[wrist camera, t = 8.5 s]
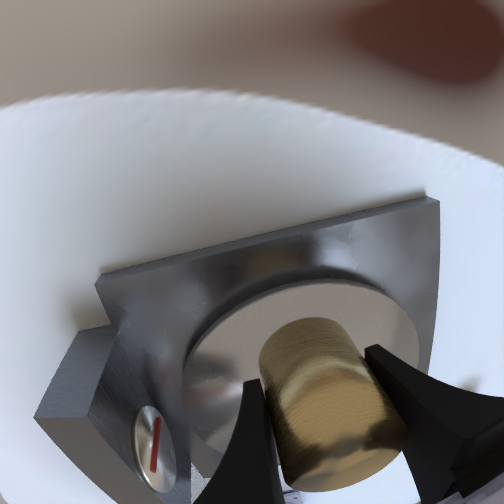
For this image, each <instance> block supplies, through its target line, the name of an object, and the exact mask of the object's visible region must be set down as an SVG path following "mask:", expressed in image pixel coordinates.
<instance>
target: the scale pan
mask: <svg viewBox="0 0 504 504" xmlns="http://www.w3.org/2000/svg"><path fill="white" fill-rule="evenodd" d="M309 317H322V318H327V319H331V320H333V321H335V322H337V323H339V324H340V325H341V326H342V327H343V328H344V329H345V330H346V332H347V333H348V335H349V336H350V338H351V339H352V341H353V342H354V344H355V345H356V347H357V348H358V350H359V352H360V353H361V355H362V356H363V358H364V359H365V356H364V348H366V347H369V346H372V345H375V344H379V345H380V346H382V347H383V348H385V349H386V350H388V351H389V352H391V353H392V354H394V355H395V356H397V357H398V358H400V359H401V360H403V361H404V362H406V363H407V364H409V365H411V366H412V367H414V368H416V369H417V365H418V360H419V341H418V336H417V332H416V329H415V326H414V325H413V323H412V321H411V319H410V317H409V316H408V315H407V314H406V312H405V311H404V310H403V309H402V308H401V307H400V306H399V305H398V304H397V303H396V302H395V301H394V300H393V299H392V298H390V297H389V296H388V295H387V294H385V293H384V292H382V291H380V290H378V289H376V288H374V287H372V286H369V285H366V284H363V283H361V282H356V281H351V280H345V279H329V278H324V279H311V280H304V281H299V282H294V283H288V284H285V285H282V286H279V287H276V288H272V289H269V290H267V291H265V292H262V293H260V294H258V295H255V296H253V297H251V298H249V299H247V300H246V301H244V302H242V303H240V304H239V305H237V306H235V307H233V308H232V309H231V310H229V311H228V312H227V313H225V314H224V315H223V316H221V317H220V318H219V319H218V320H217V321H215V322H214V323H213V324H212V325H211V326H210V327H209V328H208V329H207V330H206V331H205V332H204V334H203V335H202V336H201V338H200V339H199V340H198V341H197V343H196V344H195V346H194V348H193V349H192V351H191V353H190V355H189V356H188V359H187V362H186V365H185V367H184V371H183V377H182V385H181V404H182V408H183V412H184V415H185V417H186V419H187V422H188V424H189V425H190V427H191V428H192V429H193V431H194V432H195V433H196V434H197V435H198V436H199V437H200V438H201V439H202V440H203V441H204V442H205V443H207V444H208V445H209V446H211V447H212V448H214V449H216V450H217V451H219V452H221V453H223V454H225V451H226V449H227V447H228V444H229V442H230V439H231V436H232V433H233V430H234V427H235V424H236V421H237V417H238V413H239V409H240V404H241V399H242V392H243V383H244V382H245V381H248V380H253V379H257V378H260V381H261V385H262V388H263V384H262V380H261V375H260V371H259V364H258V360H259V355H260V351H261V349H262V347H263V345H264V344H265V342H266V341H267V340H268V338H269V337H270V336H271V335H272V334H273V333H274V332H276V331H277V330H278V329H280V328H281V327H283V326H284V325H286V324H288V323H290V322H293V321H296V320H299V319H303V318H309ZM263 392H264V389H263ZM264 395H265V394H264ZM274 439H275V438H274ZM275 447H276V443H275ZM276 455H277V464H280V460H279V456H278V452H277V447H276Z"/></svg>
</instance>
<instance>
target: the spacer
mask: <svg viewBox="0 0 504 504" xmlns="http://www.w3.org/2000/svg"><path fill="white" fill-rule="evenodd" d="M258 364H259V371H260V375H261V380H262V384H263V389H264V394H265V398H266V403H267V407H268V412H269V416H270V421H271V425H272V429H273V434H274V438H275V443H276V447H277V452H278V456H279V460H280V465H281V469H282V473H283V478H284V481H285V482H286V484H287V485H288V486H289V487H291V488H293V489H296V490H298V491H303V492H325V491H331V490H336V489H340V488H344V487H347V486H350V485H353V484H355V483H358V482H360V481H362V480H364V479H366V478H368V477H370V476H372V475H374V474H375V473H377V472H378V471H380V470H381V469H383V468H384V467H386V466H387V465H388V464H389V463H390V462H391V461H393V460H394V459H395V458H396V457H397V456H398V454H399V453H400V452H401V451H402V449H403V448H404V446H405V444H406V442H407V439H408V429H407V427H406V425H405V423H404V422H403V420H402V418H401V417H400V415H399V414H398V412H397V410H396V409H395V407H394V405H393V404H392V402H391V401H390V399H389V397H388V396H387V394H386V393H385V391H384V389H383V388H382V386H381V385H380V383H379V381H378V380H377V378H376V377H375V375H374V373H373V372H372V370H371V369H370V367H369V366H368V364H367V362H366V361H365V359H364V358H363V356H362V355H361V353H360V352H359V350H358V348H357V347H356V345H355V344H354V342H353V341H352V339H351V338H350V336H349V335H348V333H347V332H346V330H345V329H344V328H343V327H342V326H341V325H340V324H339V323H337V322H335V321H333V320H331V319H327V318H322V317H309V318H303V319H299V320H296V321H293V322H290V323H288V324H286V325H284V326H283V327H281V328H280V329H278V330H277V331H276V332H274V333H273V334H272V335H271V336H270V337H269V338H268V340H267V341H266V342H265V344H264V345H263V347H262V349H261V351H260V355H259V360H258Z"/></svg>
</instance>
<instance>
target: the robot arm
mask: <svg viewBox="0 0 504 504" xmlns="http://www.w3.org/2000/svg"><path fill="white" fill-rule="evenodd" d="M364 356H365V361H366V362H367V364H368V366H369V367H370V369H371V370H372V372H373V373H374V375H375V377H376V378H377V380H378V381H379V383H380V385H381V386H382V388H383V389H384V391H385V393H386V394H387V396H388V397H389V399H390V401H391V402H392V404H393V405H394V407H395V409H396V410H397V412H398V414H399V415H400V417H401V418H402V420H403V422H404V423H405V425H406V427H407V429H408V439H407V442H406V444H405V446H404V448H403V449H402V452H403V454H404V456H405V458H406V461H407V463H408V466H409V468H410V471H411V473H412V476H413V479H414V481H415V484H416V487H417V490H418V493H419V496H420V499H421V503H422V504H504V397H495V396H488V395H483V394H478V393H474V392H470V391H466V390H463V389H460V388H456V387H454V386H451V385H448V384H446V383H443V382H441V381H439V380H436V379H434V378H432V377H430V376H428V375H426V374H424V373H423V372H421V371H419V370H417V369H416V368H414V367H412V366H411V365H409V364H407V363H406V362H404V361H403V360H401V359H400V358H398V357H397V356H395V355H394V354H392V353H391V352H389V351H388V350H386V349H385V348H383V347H382V346H380V345H379V344H375V345H372V346H369V347H366V348H364ZM193 504H302V501H301V497H300V494H299V492H291V493H287V494H283V491H282V487H281V483H280V478H279V472H278V464H277V455H276V447H275V439H274V434H273V429H272V425H271V421H270V416H269V412H268V407H267V403H266V398H265V395H264V392H263V388H262V385H261V381H260V378H257V379H253V380H248V381H245V382H244V383H243V392H242V399H241V404H240V409H239V413H238V417H237V421H236V424H235V427H234V430H233V433H232V436H231V439H230V442H229V444H228V447H227V449H226V451H225V454H224V456H223V458H222V460H221V462H220V464H219V466H218V468H217V469H216V471H215V473H214V475H213V476H212V478H211V479H210V481H209V482H208V484H207V485H206V487H205V488H204V490H203V491H202V493H201V494H200V495H199V497H198V498H197V499H196V500H195V501H194V503H193Z"/></svg>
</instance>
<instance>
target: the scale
mask: <svg viewBox="0 0 504 504" xmlns="http://www.w3.org/2000/svg"><path fill="white" fill-rule="evenodd" d="M439 265H440V201H439V200H436V199H433V198H430V197H428V196H426V197H421V198H417V199H412V200H408V201H403V202H399V203H394V204H390V205H385V206H381V207H377V208H372V209H368V210H363V211H359V212H355V213H350V214H346V215H342V216H337V217H333V218H329V219H324V220H320V221H316V222H312V223H307V224H303V225H299V226H295V227H290V228H286V229H282V230H278V231H274V232H269V233H265V234H261V235H257V236H253V237H249V238H244V239H240V240H236V241H232V242H228V243H224V244H220V245H216V246H212V247H208V248H204V249H199V250H195V251H191V252H187V253H183V254H179V255H175V256H171V257H167V258H163V259H159V260H155V261H152V262H148V263H144V264H140V265H136V266H132V267H128V268H124V269H120V270H116V271H112V272H109V273H105V274H101V276H100V277H99V278H98V280H97V281H96V283H95V284H94V285H95V287H96V290H97V292H98V295H99V297H100V299H101V301H102V304H103V306H104V308H105V310H106V313H107V315H108V317H109V319H110V321H111V324H112V325H109V326H104V327H99V328H94V329H89V330H83V331H78V333H77V335H76V337H75V338H74V340H73V342H72V344H71V345H70V347H69V349H68V351H67V353H66V354H65V356H64V358H63V360H62V362H61V364H60V365H59V367H58V369H57V371H56V373H55V375H54V377H53V379H52V381H51V383H50V385H49V386H48V388H47V390H46V392H45V394H44V396H43V398H42V400H41V403H40V405H39V407H38V409H37V411H36V413H35V415H34V417H33V418H34V419H35V420H36V422H37V423H38V424H39V425H40V426H41V428H42V429H43V430H44V431H45V432H46V434H47V435H48V436H49V437H50V438H51V439H52V440H53V442H54V443H55V444H56V445H57V446H58V447H59V448H60V449H61V450H62V451H63V452H64V454H65V455H66V456H67V457H68V458H69V459H70V460H71V461H72V462H73V463H74V464H75V465H76V466H77V467H78V468H79V469H80V470H81V471H82V472H83V473H84V474H85V475H86V476H87V477H88V478H89V479H90V480H92V481H93V482H94V483H95V484H96V485H97V486H98V487H99V488H100V489H101V490H103V491H104V492H105V493H106V494H107V495H108V496H109V497H111V498H112V499H113V500H114V501H115V502H117V503H118V504H191V462H192V463H193V464H194V466H195V467H196V469H197V470H198V471H199V473H200V474H201V475H202V477H203V478H211V477H212V476H213V475H214V473H215V471H216V469H217V468H218V466H219V464H220V462H221V460H222V458H223V456H224V454H223V453H221V452H219V451H217V450H216V449H214V448H212V447H211V446H209V445H208V444H207V443H205V442H204V441H203V440H202V439H201V438H200V437H199V436H198V435H197V434H196V433H195V432H194V431H193V429H192V428H191V427H190V425H189V424H188V422H187V419H186V417H185V415H184V412H183V408H182V404H181V385H182V377H183V371H184V367H185V365H186V362H187V359H188V356H189V355H190V353H191V351H192V349H193V348H194V346H195V344H196V343H197V341H198V340H199V339H200V338H201V336H202V335H203V334H204V332H205V331H206V330H207V329H208V328H209V327H210V326H211V325H212V324H213V323H214V322H215V321H217V320H218V319H219V318H220V317H221V316H223V315H224V314H225V313H227V312H228V311H229V310H231V309H232V308H233V307H235V306H237V305H239V304H240V303H242V302H244V301H246V300H247V299H249V298H251V297H253V296H255V295H258V294H260V293H262V292H265V291H267V290H269V289H272V288H276V287H279V286H282V285H285V284H288V283H294V282H299V281H304V280H311V279H324V278H329V279H345V280H351V281H356V282H361V283H363V284H366V285H369V286H372V287H374V288H376V289H378V290H380V291H382V292H384V293H385V294H387V295H388V296H389V297H390V298H392V299H393V300H394V301H395V302H396V303H397V304H398V305H399V306H400V307H401V308H402V309H403V310H404V311H405V312H406V314H407V315H408V316H409V317H410V319H411V321H412V323H413V325H414V326H415V329H416V332H417V336H418V341H419V360H418V365H417V370H419V371H421V372H423V373H424V374H426V375H427V374H428V369H429V363H430V357H431V350H432V343H433V336H434V328H435V319H436V309H437V298H438V285H439ZM279 465H280V464H278V466H279Z"/></svg>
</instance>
